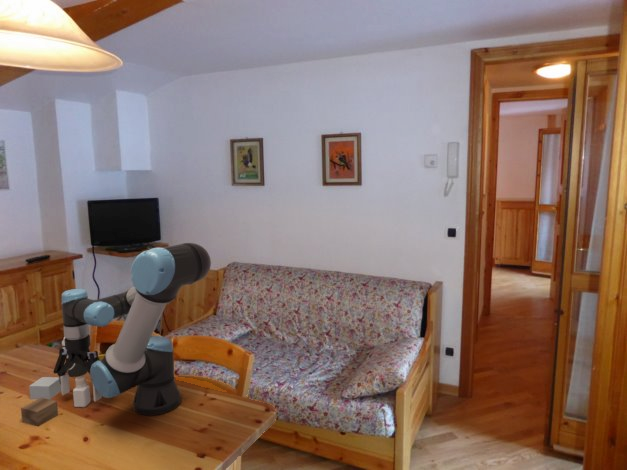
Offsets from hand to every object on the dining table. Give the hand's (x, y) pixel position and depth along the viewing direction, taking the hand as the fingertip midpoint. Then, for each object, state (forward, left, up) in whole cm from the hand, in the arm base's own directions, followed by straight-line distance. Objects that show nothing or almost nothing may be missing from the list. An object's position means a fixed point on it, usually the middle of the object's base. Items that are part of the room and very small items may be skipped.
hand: (81, 396), depth 153 cm
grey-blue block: (+18, -2, -3) cm, 18 cm away
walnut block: (+6, +11, -3) cm, 13 cm away
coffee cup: (+21, -19, -3) cm, 28 cm away
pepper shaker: (0, 0, -3) cm, 3 cm away
